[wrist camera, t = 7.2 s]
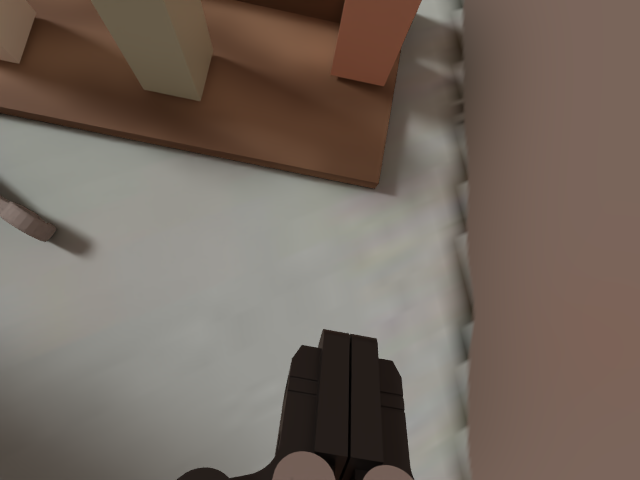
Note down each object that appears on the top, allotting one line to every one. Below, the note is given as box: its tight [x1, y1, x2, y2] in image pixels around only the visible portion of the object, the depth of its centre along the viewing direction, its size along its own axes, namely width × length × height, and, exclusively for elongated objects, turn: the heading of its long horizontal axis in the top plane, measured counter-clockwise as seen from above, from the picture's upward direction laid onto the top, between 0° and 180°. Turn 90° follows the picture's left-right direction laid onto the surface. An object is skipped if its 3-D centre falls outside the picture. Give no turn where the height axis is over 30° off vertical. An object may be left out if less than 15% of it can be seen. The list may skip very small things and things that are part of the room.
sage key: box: [91, 0, 213, 101], centre depth 23 cm, size 4×4×11 cm
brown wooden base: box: [0, 0, 401, 189], centre depth 29 cm, size 13×27×4 cm, turn 80°
